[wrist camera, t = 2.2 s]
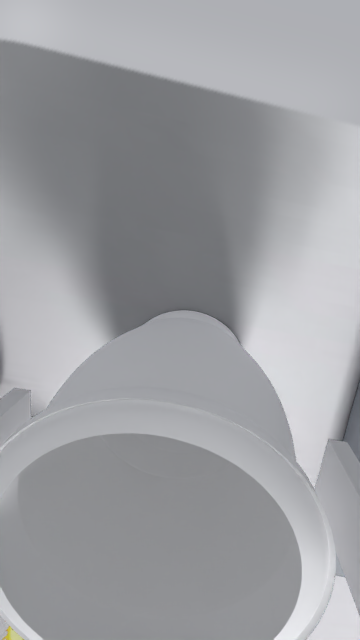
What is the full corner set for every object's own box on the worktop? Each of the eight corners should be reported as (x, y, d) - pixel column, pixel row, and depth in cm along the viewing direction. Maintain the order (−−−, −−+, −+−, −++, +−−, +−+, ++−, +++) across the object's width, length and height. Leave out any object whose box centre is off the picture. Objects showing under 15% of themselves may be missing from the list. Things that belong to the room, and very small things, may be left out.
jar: (228, 270, 22) (260, 339, 7) (280, 405, 24) (385, 669, 9) (87, 326, 24) (-109, 470, 9) (145, 447, 26) (59, 722, 11)
